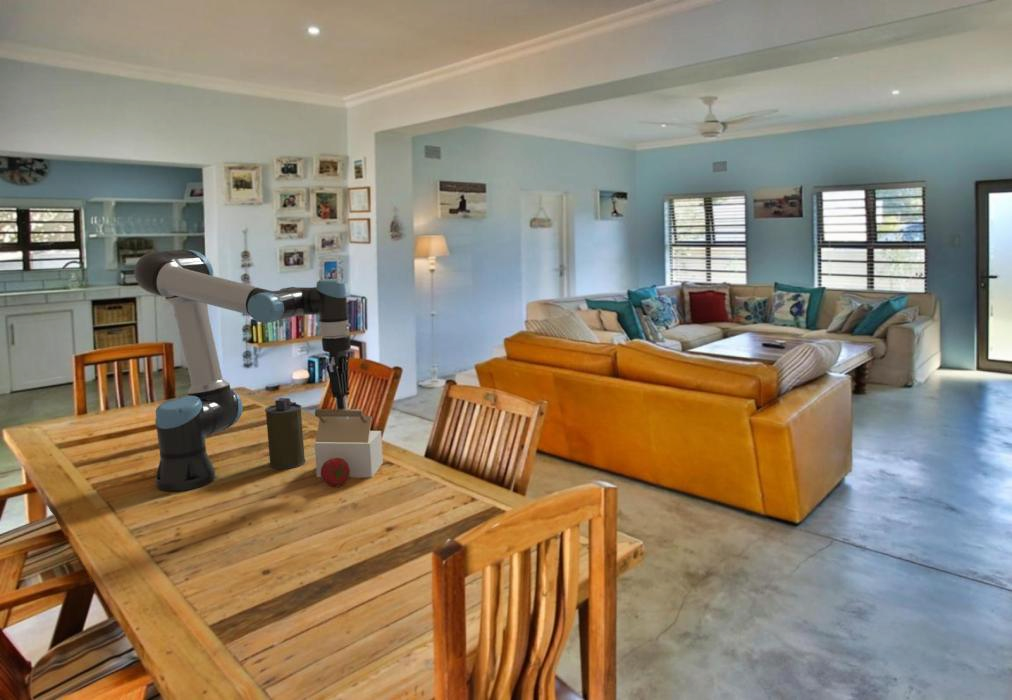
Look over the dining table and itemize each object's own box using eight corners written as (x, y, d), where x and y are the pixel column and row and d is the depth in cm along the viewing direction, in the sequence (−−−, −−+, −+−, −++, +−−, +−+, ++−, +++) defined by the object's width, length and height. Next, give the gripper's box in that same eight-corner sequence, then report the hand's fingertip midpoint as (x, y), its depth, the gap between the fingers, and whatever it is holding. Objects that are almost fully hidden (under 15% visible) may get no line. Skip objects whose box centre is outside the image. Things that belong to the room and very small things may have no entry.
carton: (316, 476, 190) (314, 443, 189) (331, 462, 202) (328, 430, 200) (371, 477, 189) (369, 443, 187) (382, 462, 201) (381, 430, 199)
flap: (316, 442, 189) (307, 432, 182) (320, 416, 192) (312, 406, 186) (368, 442, 187) (361, 433, 181) (371, 417, 191) (365, 406, 185)
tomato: (327, 451, 186) (335, 453, 179) (350, 464, 189) (359, 467, 182) (312, 477, 183) (319, 480, 177) (336, 490, 187) (344, 493, 180)
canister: (294, 470, 196) (289, 404, 192) (262, 468, 198) (257, 403, 195) (312, 457, 206) (307, 395, 203) (281, 456, 209) (276, 394, 205)
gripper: (341, 339, 176) (349, 425, 181) (355, 331, 189) (362, 411, 193) (314, 340, 177) (322, 425, 181) (329, 332, 189) (337, 412, 194)
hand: (343, 418), depth 187 cm, fingers closed
